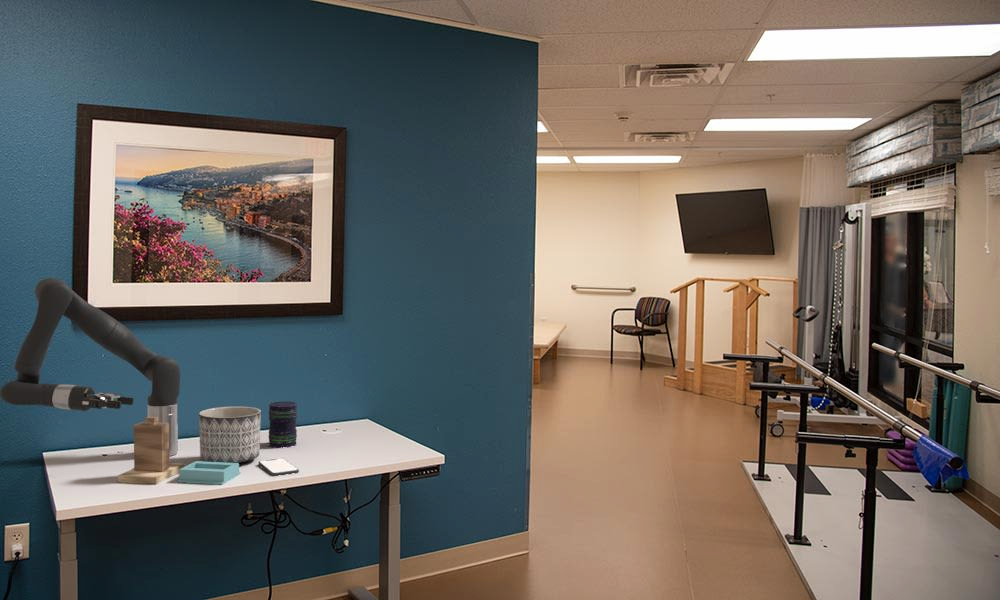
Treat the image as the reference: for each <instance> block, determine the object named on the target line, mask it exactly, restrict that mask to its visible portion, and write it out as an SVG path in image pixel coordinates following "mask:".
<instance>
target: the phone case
mask: <svg viewBox="0 0 1000 600" xmlns="http://www.w3.org/2000/svg"><path fill="white" fill-rule="evenodd" d="M258 466H259V467H260V468H261V467H262V468H263V469H262V468H261V469H262V470H264V471H265V472H266V473H267V472H268V474H269V475H270V476H272V477H278V476H279V475H281V476H287V475H286V474H288V475H293V474H292V473H295V474H299V473H300V469H299V468H298V467H297V466H295V465H293V464H292V463H291V462H289V461H288V460H287V459H285V458H282V457H281V458H273V459H266V460H260V461H258ZM298 472H299V473H298Z"/></svg>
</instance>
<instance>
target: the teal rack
mask: <svg viewBox="0 0 1000 600" xmlns="http://www.w3.org/2000/svg"><path fill="white" fill-rule="evenodd" d="M178 474H179V477H178V480H177V483H181V482H186V484H200V483H203V485H205V484H206V485H218V484H221V485H220V486H222V485H225V484H226V483H228V482H229V481H231V480H233V479H234V478H236V477H238V476H239V475H241V472H240V464H239V463H224V462H205V461H203V460H201V461H199V460H195V461H193V462H192V463H190V464H188V465H186V466H185V465H184V467H183V468H181V469H179V473H178ZM237 475H238V476H237ZM232 478H233V479H232ZM227 481H228V482H227Z"/></svg>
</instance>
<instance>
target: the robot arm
mask: <svg viewBox="0 0 1000 600" xmlns="http://www.w3.org/2000/svg"><path fill="white" fill-rule="evenodd" d="M34 294H35V298H36V301H37V302H38V306H37V312H36V316H35V319H34V322H33V324H32V326H31V328H30V330H29V331H28V333H27V335H26V337H25V338H24V340H23V341H22V345H21V346H20V349H19V352H18V355H17V357H16V360H15V363H14V366H13V367H14V370H15V371H16V372H17V376H16V377H17V378H16V379H15V380H10V381H9V382H6V383H4V384H3V385H2V386H1V388H0V399H1V400H2V401H3V402H5V403H7V404H9V405H14V406H43V407H49V408H58V409H61V410H70V411H76V412H77V411H79V412H87V411H89V410H90V409H96V410H97V409H98V410H101V409H116V410H120V409H121V408H122V405H127V406H132V405H134V401H135V400H134V399H135V398H134V397H129V396H123V394H117V393H106V392H98V393H95V391H94V389H93V387H91V386H84V385H76V384H60V383H59V384H58V383H52V382H51V383H50V382H49V383H48V382H45V383H40V377H41V375H40V374H41V370H42V368H43V367H42V366H43V364H44V361H45V358H46V355H47V353H48V350H49V347H50V344H51V343H52V342H51V341H52V339H53V337H54V334H55V332H56V329H57V327H58V325H59V323H60V322H61V320H62V318H63V317H66V318H67V320H69V321H71V322H72V323H73V324H75V326H76V327H77V328H78V329H79V330H80V331H81V332H82V333H84V334H85V335H86V336H87V338H89V339H90V340H92V341H93V342H94V343H96V344H98V345H99V346H100V347H102V348H103V349H105V350H106V351H108V352H109V353H111V354H112V355H114V356H116V357H118V358H120V359H122V360H123V361H125V362H127V363H128V364H130V365H131V366H132V367H133V368H135V369H136V370H137V371H138V372H139V373H141V374H142V375H143V376H144V377H145V378H146V379H147V380H149V381H150V382H151V393H150V395H149V396H147V417H158V423H169V457H172V456H174V455H176V454H178V451H179V425H178V397H179V396H180V393H181V392H180V387H181V368H180V365H179V363H178V362H177V360H175V359H174V358H172V357H171V358H170V357H166V356H164V355H163V356H162V355H160V354H158V353H156V352H155V351H153V350H151V349H149V348H148V347H147V346H146V345H144V344H143V343H142V342H141V341H140V340H139V339H138V338H137V337H136V336H135V334H134V333H133V332H132V331H131V330H130V329H129V328H127V326H125V325H124V324H122V323H121V322H120V321H118V320H117V319H115V318H114V317H112V316H111V315H109V314H108V313H106V312H104V311H103V310H101V309H99V308H98V307H96V306H94V305H92V304H91V303H89V302H87V301H86V300H84V298H82V297H81V296H80V295H78V294H77V292H75V291H74V290H73V289H72V288H70V286H69V285H68V284H67V283H66V282H65V281H63V280H62V279H60V278H57V277H47V278H44V279H42V280H40V281H39V282H38V283H37V284H36V286H35V289H34ZM115 398H116V399H115Z"/></svg>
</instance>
